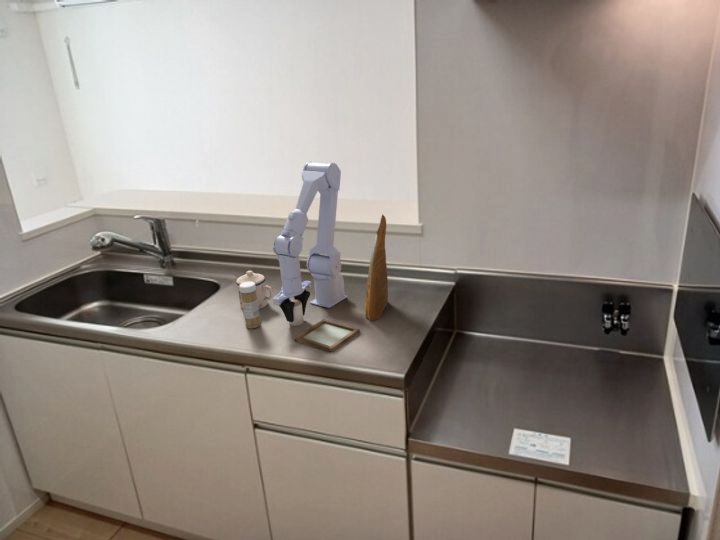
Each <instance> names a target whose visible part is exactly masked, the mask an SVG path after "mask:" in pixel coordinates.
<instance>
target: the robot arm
mask: <svg viewBox="0 0 720 540" xmlns="http://www.w3.org/2000/svg"><path fill="white" fill-rule="evenodd" d="M341 175H342V171H341V169H340V167H339V166H338V164H337V163H335V162H316V161H310V160H309V161H307V162H306V163H305V164H304V166H303V169H302V172H301V179H302V185H301V189H300V192H299V195H298V199H297V203H296V206H295V209H294V210H291V211H290V212H288V213H289V214H288V216H287V219H286V220H285V223H284V225H283V229H282V230H281V233H280V235H278V236H277V237H276V238H274V241H273V246H272V251H273V253H274V254H275V255H276V259H277V261H278V262H279V264H278V265H279V270H280V278H281V279H280V280H281V288H280V292H279V293H278V294H276V295H275V296H274V297H272V300H273V301H272V303H273V305H275V306H279V308H280V309H281V311H282V312H283V313H282V314H284V318H285V319H286V322H288V323H289V322H293V321H294V314H293V310H294V304H295V302H292V301H291V300H292V299H290V298H294V299H297V300H300V301H301V303H302V310H303V317H304V316H305V314H306V307H307V305H308V300H309V298H310V296H311V292H310V291H309V290H307V289H312V281H310V280H304V281H302V274H301V263H300V255H301V252H302V251H303V240H304V237H303V235H304V232H305V230H306V227H307V225H308V222H309V218H308V215H307V214H308V211H309V209H310V207H311V206H312V204H313V201H314V200H315V197H316V195H317V193H319V196H320V197H319V207H318V217H317V218H318V220H317V221H318V222H317V232H316V233H317V234H316V244H315V246H313V247H312V248H310V249H309V251H308V252H309V254H308V258H307V259H306V269H307V271H308V272H309V273H310V274H311V277H313V285H314V286H313V287H314V295H315V298H314V299H313V300H311V301H310V302H309V303H310V304H312V305H315V306H320V307H324V308H327V309H329V308H332V307H334V306H335V305H338V304H339V303H340V302H341V301H344V300H345V299H346V298H348V296H347V295H345V293H346V292H345V281H344V277H343V275H342V273H341V270H342V261H341V252H340V251H339V250H338V249H337V248H336V247H335V243H334V242H335V232H336V231H335V230H336V220H337V207H338V194H339V191H340V186H341ZM294 299H293V300H294Z"/></svg>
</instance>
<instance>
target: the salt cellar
mask: <svg viewBox="0 0 720 540" xmlns="http://www.w3.org/2000/svg"><path fill="white" fill-rule="evenodd" d="M290 300H291V301H292V302H295V304H294V310H293V314H294V321H293V322H288V324H289V325H290V326H296V327H297V326H300V325H303V324H304V323H305V321H304V316H303V310H302V303H301V301H300V300H297V299H290Z"/></svg>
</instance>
